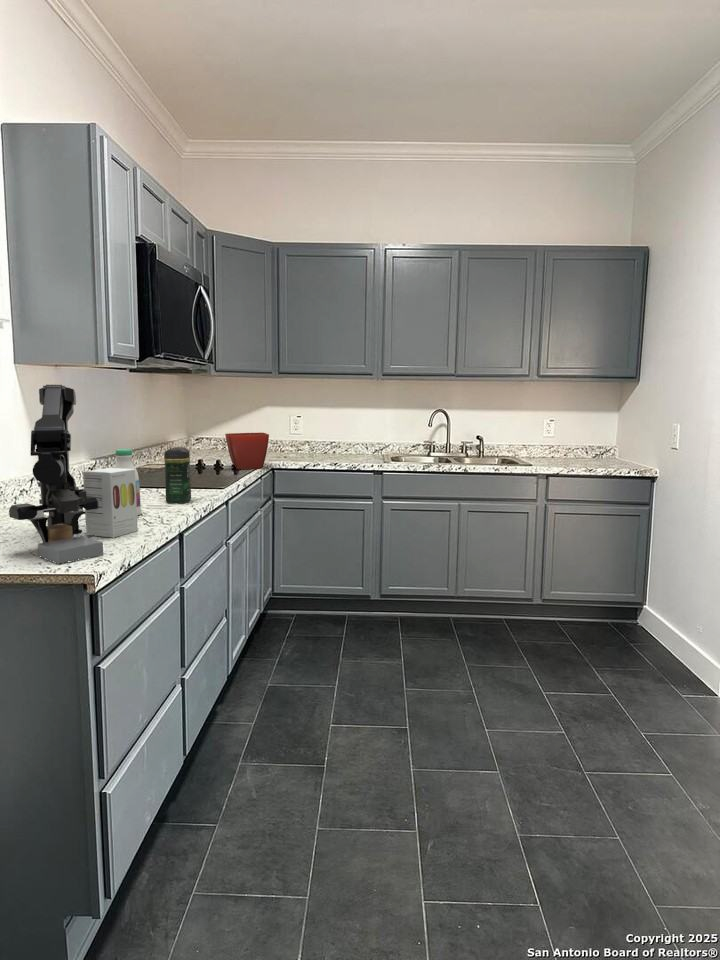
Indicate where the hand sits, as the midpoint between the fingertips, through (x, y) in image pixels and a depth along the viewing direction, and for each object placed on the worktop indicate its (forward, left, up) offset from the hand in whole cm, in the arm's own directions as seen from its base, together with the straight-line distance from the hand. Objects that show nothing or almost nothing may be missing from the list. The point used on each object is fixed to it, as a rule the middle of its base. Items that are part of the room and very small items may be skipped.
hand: (57, 542), depth 150 cm
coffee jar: (-55, -32, -1) cm, 64 cm away
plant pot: (-133, -90, -1) cm, 160 cm away
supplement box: (-16, -4, -1) cm, 17 cm away
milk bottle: (-31, -23, -1) cm, 39 cm away
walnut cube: (0, 0, -1) cm, 1 cm away
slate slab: (+2, +11, -1) cm, 11 cm away
